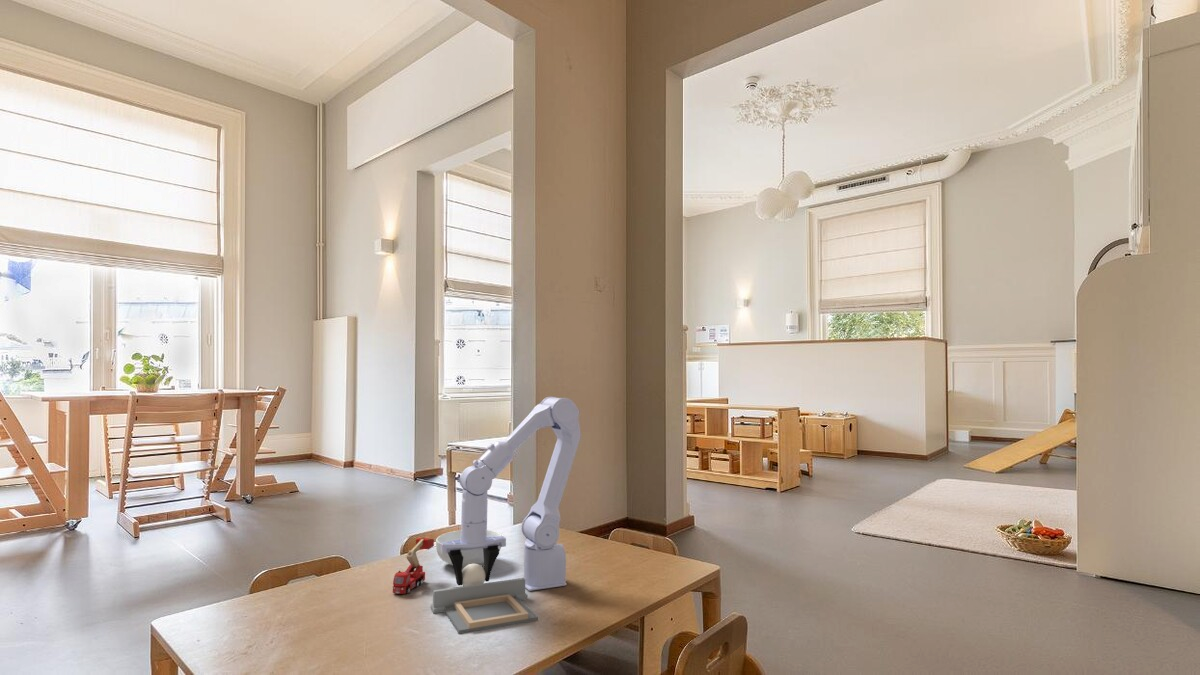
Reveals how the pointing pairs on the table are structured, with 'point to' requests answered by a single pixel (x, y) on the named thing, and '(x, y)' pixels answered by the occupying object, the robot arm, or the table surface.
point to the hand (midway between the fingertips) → (472, 582)
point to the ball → (473, 575)
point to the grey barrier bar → (477, 593)
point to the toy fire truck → (412, 569)
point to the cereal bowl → (468, 555)
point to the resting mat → (488, 613)
